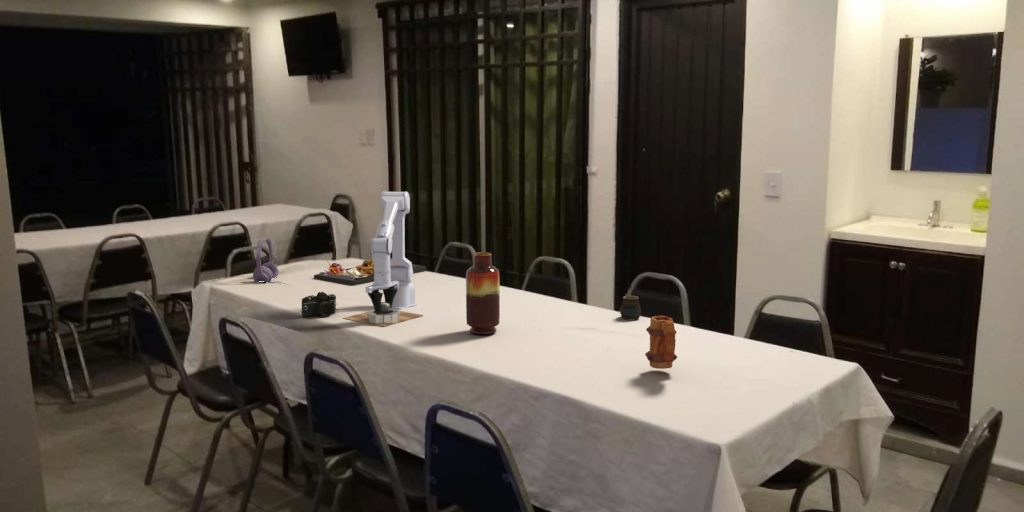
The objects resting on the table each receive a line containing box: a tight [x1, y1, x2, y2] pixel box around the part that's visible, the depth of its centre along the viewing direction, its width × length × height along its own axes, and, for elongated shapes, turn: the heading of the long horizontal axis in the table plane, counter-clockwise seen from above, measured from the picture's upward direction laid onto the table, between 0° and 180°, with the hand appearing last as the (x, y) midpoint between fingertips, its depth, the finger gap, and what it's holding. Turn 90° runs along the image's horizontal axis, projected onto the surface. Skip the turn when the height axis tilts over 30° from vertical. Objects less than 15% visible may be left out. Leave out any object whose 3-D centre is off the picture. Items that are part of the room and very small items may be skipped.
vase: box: [465, 251, 501, 335], centre depth 272 cm, size 11×11×26 cm
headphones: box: [252, 237, 279, 283], centre depth 357 cm, size 18×8×20 cm, turn 179°
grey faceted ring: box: [366, 308, 401, 324], centre depth 287 cm, size 11×11×3 cm
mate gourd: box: [619, 293, 642, 320], centre depth 289 cm, size 7×8×10 cm
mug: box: [645, 315, 678, 370], centre depth 229 cm, size 15×8×15 cm, turn 5°
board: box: [342, 310, 424, 328], centre depth 293 cm, size 20×20×1 cm
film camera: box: [301, 291, 338, 318], centre depth 293 cm, size 13×8×10 cm, turn 130°
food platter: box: [313, 258, 427, 287], centre depth 366 cm, size 45×25×10 cm, turn 144°
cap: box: [376, 301, 390, 314], centre depth 287 cm, size 5×5×4 cm
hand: (383, 310), depth 287 cm, fingers closed on cap, 5 cm apart
